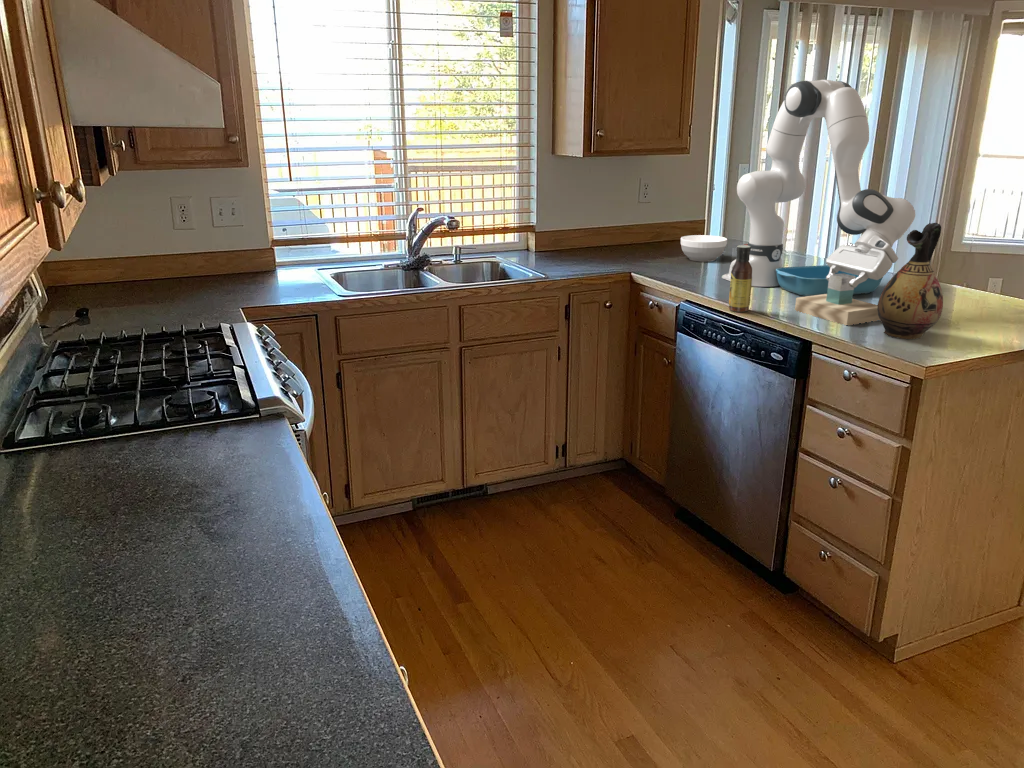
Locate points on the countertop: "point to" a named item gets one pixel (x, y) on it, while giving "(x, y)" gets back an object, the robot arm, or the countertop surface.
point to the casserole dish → (815, 280)
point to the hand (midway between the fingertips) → (839, 282)
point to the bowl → (703, 247)
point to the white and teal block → (840, 289)
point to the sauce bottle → (741, 281)
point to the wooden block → (837, 310)
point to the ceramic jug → (913, 290)
